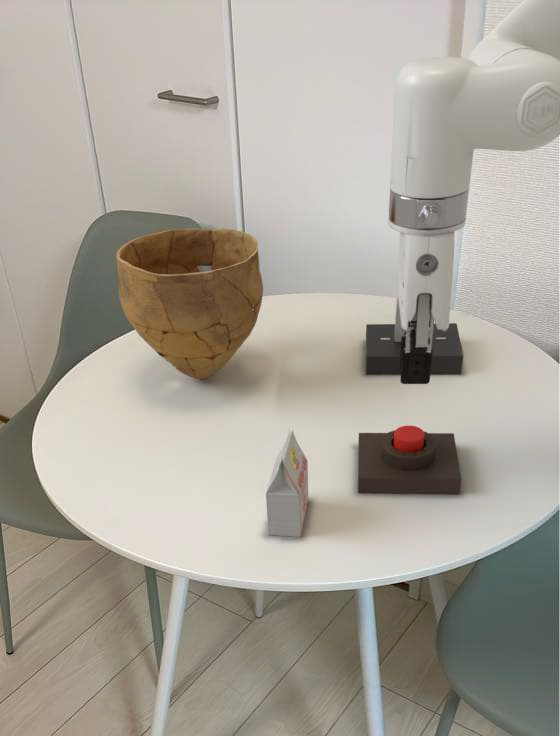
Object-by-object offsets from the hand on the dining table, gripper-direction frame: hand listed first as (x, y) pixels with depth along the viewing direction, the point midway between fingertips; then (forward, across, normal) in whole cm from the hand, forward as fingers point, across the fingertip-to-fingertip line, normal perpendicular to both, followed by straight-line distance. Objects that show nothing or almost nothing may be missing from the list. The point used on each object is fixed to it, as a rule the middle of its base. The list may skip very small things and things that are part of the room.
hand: (414, 374), depth 86 cm
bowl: (+13, +24, +30) cm, 41 cm away
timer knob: (+10, +30, -2) cm, 32 cm away
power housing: (+13, 0, 0) cm, 13 cm away
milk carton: (+13, -10, +14) cm, 22 cm away
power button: (+10, 0, 0) cm, 10 cm away
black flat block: (+13, +30, -2) cm, 33 cm away
